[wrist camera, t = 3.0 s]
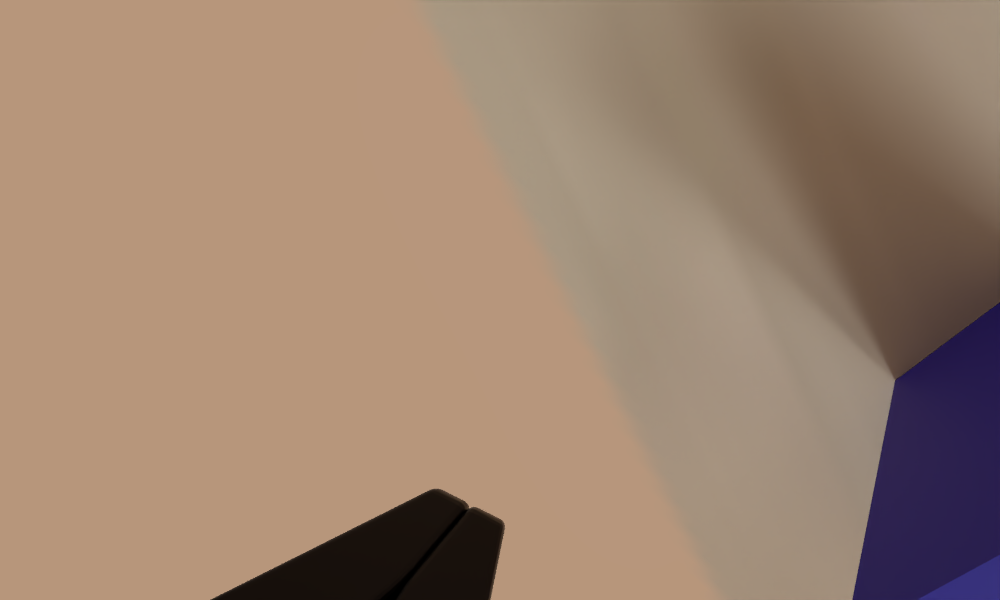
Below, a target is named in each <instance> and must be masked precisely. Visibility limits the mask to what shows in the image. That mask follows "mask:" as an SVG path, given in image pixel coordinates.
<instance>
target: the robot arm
mask: <svg viewBox="0 0 1000 600" xmlns="http://www.w3.org/2000/svg"><path fill="white" fill-rule="evenodd" d="M504 529H505V525H504V522H503V521H502V520H501V519H499V518H497V517H495V516H493V515H491V514H489V513H487V512H485V511H483V510H481V509H479V508H476V507H472V508H470V509H469V506H468V504H467V503H466V502H465V501H463V500H461V499H459V498H457V497H455V496H453V495H451V494H449V493H447V492H445V491H443V490H441V489H432V490H429V491H427V492H425V493H423V494H421V495H419V496H417V497H415V498H413V499H411V500H409V501H407V502H405V503H403V504H401V505H399V506H397V507H395V508H394V509H391V510H389V511H388V512H385V513H383V514H382V515H379V516H377V517H375V518H374V519H371V520H369V521H367V522H365V523H363V524H361V525H359V526H357V527H355V528H353V529H351V530H349V531H347V532H345V533H343V534H341V535H339V536H337V537H335V538H333V539H331V540H329V541H327V542H325V543H323V544H321V545H319V546H317V547H316V548H313V549H312V550H309V551H307V552H305V553H303V554H301V555H299V556H297V557H295V558H293V559H291V560H289V561H287V562H285V563H284V564H281V565H279V566H277V567H275V568H273V569H272V570H269V571H267V572H265V573H263V574H261V575H259V576H257V577H255V578H253V579H251V580H250V581H247V582H245V583H244V584H241V585H239V586H237V587H235V588H233V589H232V590H229V591H227V592H225V593H223V594H221V595H219V596H217V597H215V598H213V599H211V600H490V598H491V594H492V589H493V584H494V579H495V574H496V569H497V564H498V559H499V554H500V549H501V544H502V539H503V534H504Z"/></svg>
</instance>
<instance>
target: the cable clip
mask: <svg viewBox="0 0 1000 600" xmlns="http://www.w3.org/2000/svg"><path fill="white" fill-rule="evenodd" d="M853 600H1000V303H998V304H997V305H996V306H994V307H993V308H992V309H990V310H989V311H988V312H986V313H985V314H984V315H982V316H981V317H980V318H978V319H977V320H976V321H974V322H973V323H972V324H970V325H969V326H967V327H966V328H965V329H963V330H962V331H961V332H959V333H958V334H957V335H955V336H954V337H953V338H951V339H950V340H949V341H947V342H946V343H945V344H943V345H942V346H941V347H939V348H938V349H937V350H935V351H934V352H933V353H931V354H930V355H929V356H927V357H926V358H925V359H923V360H922V361H921V362H919V363H918V364H917V365H915V366H914V367H913V368H911V369H910V370H909V371H907V372H906V373H905V374H903V375H902V376H901V377H899V378H898V379H897V380H895V385H894V390H893V395H892V400H891V405H890V410H889V415H888V420H887V426H886V431H885V436H884V441H883V446H882V451H881V456H880V461H879V467H878V472H877V477H876V482H875V487H874V492H873V497H872V502H871V507H870V513H869V518H868V523H867V528H866V533H865V538H864V543H863V548H862V553H861V559H860V564H859V569H858V574H857V579H856V584H855V589H854V594H853Z"/></svg>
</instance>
